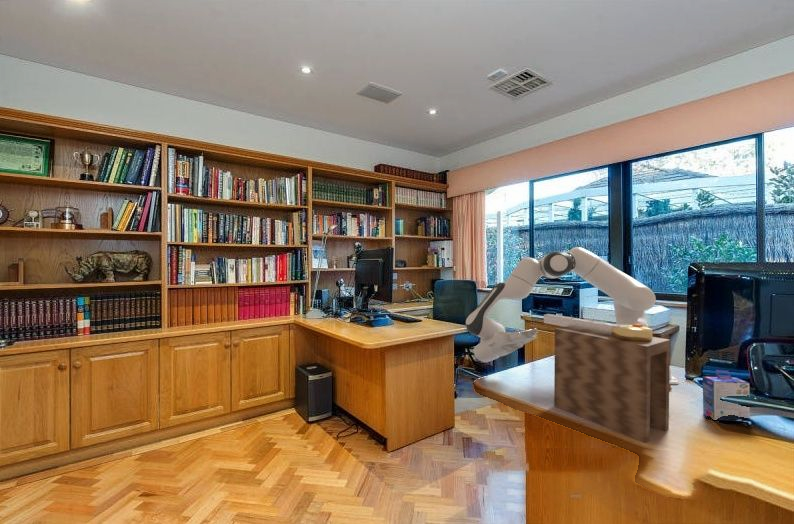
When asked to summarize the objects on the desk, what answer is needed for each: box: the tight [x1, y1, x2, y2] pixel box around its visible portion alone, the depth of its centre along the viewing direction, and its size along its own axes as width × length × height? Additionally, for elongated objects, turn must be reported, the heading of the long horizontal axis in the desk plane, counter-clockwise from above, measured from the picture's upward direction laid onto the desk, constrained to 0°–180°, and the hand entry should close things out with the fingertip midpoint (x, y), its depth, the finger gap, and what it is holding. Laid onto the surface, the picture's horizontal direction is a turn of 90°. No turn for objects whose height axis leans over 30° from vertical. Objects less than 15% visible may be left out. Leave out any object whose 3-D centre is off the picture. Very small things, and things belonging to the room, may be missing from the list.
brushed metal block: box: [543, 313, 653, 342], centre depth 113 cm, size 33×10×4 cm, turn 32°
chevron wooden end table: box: [553, 326, 671, 444], centre depth 109 cm, size 27×14×26 cm, turn 32°
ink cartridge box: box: [702, 369, 751, 421], centre depth 108 cm, size 10×6×14 cm, turn 82°
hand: (528, 331), depth 133 cm, fingers open, 8 cm apart
